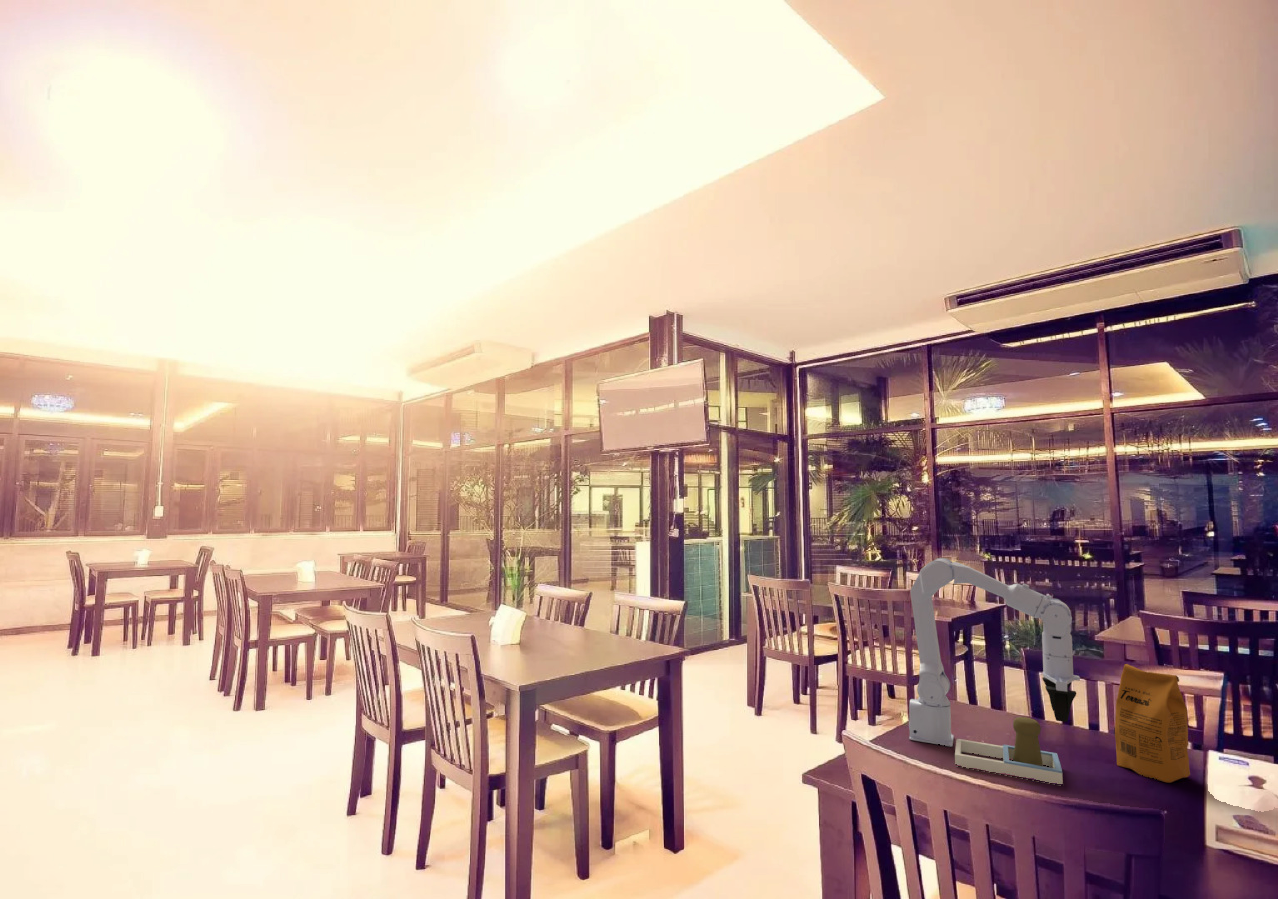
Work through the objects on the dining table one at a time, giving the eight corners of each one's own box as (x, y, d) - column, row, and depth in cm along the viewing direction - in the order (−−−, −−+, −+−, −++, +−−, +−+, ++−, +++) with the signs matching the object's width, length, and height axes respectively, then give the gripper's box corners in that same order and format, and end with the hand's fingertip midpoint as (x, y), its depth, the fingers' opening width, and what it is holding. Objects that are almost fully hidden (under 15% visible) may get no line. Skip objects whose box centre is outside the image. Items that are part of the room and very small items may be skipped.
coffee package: (1138, 758, 148) (1133, 660, 150) (1199, 780, 136) (1193, 674, 138) (1106, 763, 145) (1102, 663, 147) (1166, 786, 133) (1160, 677, 135)
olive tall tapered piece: (1049, 777, 137) (1047, 724, 138) (1018, 774, 138) (1016, 722, 139) (1037, 766, 143) (1036, 715, 144) (1008, 763, 144) (1006, 713, 145)
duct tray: (955, 766, 142) (954, 752, 143) (957, 749, 152) (956, 736, 152) (1062, 785, 133) (1062, 771, 133) (1057, 766, 143) (1056, 753, 143)
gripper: (1083, 663, 138) (1085, 729, 137) (1074, 650, 151) (1077, 709, 150) (1044, 659, 141) (1046, 723, 140) (1039, 646, 154) (1041, 705, 153)
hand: (1059, 716), depth 145 cm, fingers open, 7 cm apart
